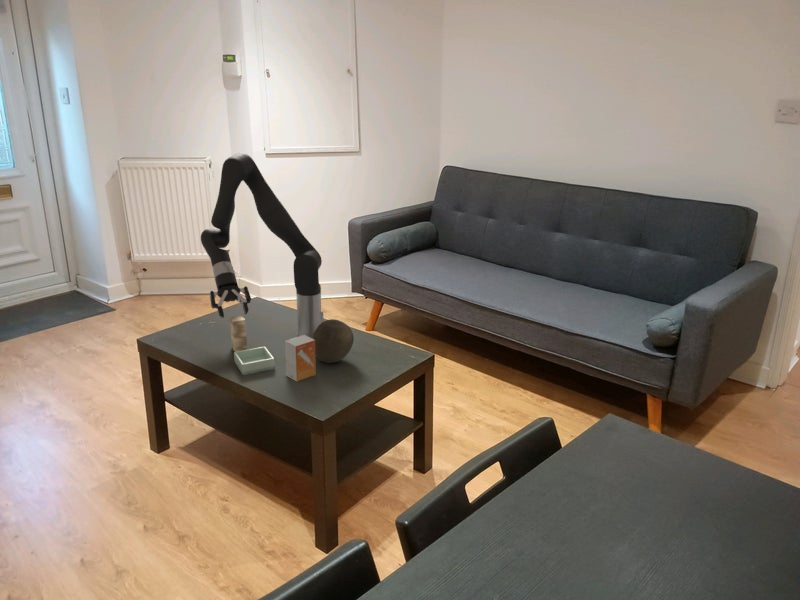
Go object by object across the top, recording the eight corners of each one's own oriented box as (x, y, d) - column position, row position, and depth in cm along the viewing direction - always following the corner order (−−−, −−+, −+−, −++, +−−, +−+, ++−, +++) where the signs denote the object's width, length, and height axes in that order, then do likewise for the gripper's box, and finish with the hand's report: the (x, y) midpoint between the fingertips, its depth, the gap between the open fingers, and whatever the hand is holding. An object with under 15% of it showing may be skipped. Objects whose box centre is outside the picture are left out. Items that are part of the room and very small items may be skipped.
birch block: (244, 345, 248) (241, 315, 244) (247, 350, 244) (245, 319, 240) (232, 347, 246) (229, 317, 242) (235, 352, 242) (232, 321, 238)
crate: (265, 356, 239) (264, 346, 238) (274, 369, 230) (274, 358, 229) (234, 362, 234) (233, 352, 233) (243, 375, 225) (242, 364, 224)
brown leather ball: (329, 373, 227) (328, 332, 222) (304, 360, 237) (303, 320, 232) (361, 361, 237) (361, 322, 232) (336, 349, 246) (335, 311, 241)
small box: (296, 382, 221) (295, 346, 216) (285, 375, 225) (284, 340, 221) (316, 374, 226) (315, 339, 222) (305, 368, 231) (304, 334, 226)
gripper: (206, 274, 243) (216, 313, 238) (245, 269, 250) (255, 307, 244) (204, 283, 250) (213, 322, 244) (242, 278, 256) (252, 316, 250)
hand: (234, 315), depth 244 cm, fingers open, 8 cm apart
